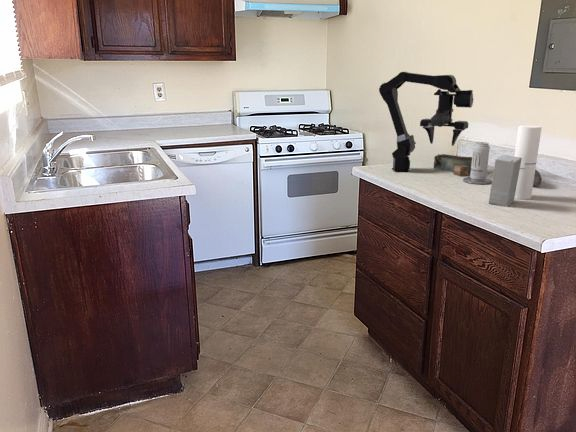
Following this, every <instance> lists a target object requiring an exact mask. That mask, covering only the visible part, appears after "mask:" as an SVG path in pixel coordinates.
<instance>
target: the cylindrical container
mask: <svg viewBox="0 0 576 432" xmlns="http://www.w3.org/2000/svg"><path fill="white" fill-rule="evenodd" d="M541 134H542V126H541V125H534V124H533V125H532V124H522V125H521V124H520V125H518V127H517V135H516V141H515V148H514V155H513V156H514V157H521V158H522V160H521V165H520V171H519V176H518V181H517V186H516V192H515V197H514V200H523V201H527V200H530V199H532V195H533V188H534V186H533V182H534V175H535V169H536V168H537V167H536V166H537V162H538V153H539V147H540V140H541Z"/></svg>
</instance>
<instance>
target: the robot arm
mask: <svg viewBox="0 0 576 432" xmlns="http://www.w3.org/2000/svg"><path fill="white" fill-rule="evenodd" d="M405 83H413V84H421V85H427V86H428V85H429V86H432V87H434V88H436V89H437V90H436V91H435V92H434V93H433V95H434V96H438V102H437V103H438V104H437V109H436V111H435V114H434V115H433V116H432V117H431V118H423V119H420V121H419V126H420V127H422V129H424V130H425V131H426V133H427V135H428V139H429V143H430V144H431V145H432V144H433V143H434V138H435V137H434V136H435V128H436V127H438V128H442V127H451V128H454V129H452V138H451V139H452V140H451V146H455V144H456V142H457V140H458V138H459V136H460V134H461V133H462V132H463V131H465V130H466V129H469V122H468V121H467V120H457V121H456V120H455V121H454V122H453V118H452V116H453V112H454V106H455V107H456V108H467V109H468V108H472V107H473V103H474V94H473V89H468V90H462V89H460V87H459V86H458V84H457V78H456V77H455V76H454V75H453V74H444V75H443V74H442V75H441V74H439V75H431V74H430V75H429V74H422V73H417V72H416V73H414V72H408V71H401V72H399V73H398V74H396V75H395V76H394V77H392V78H391V79H390V80H388V81H387V82H383V83H381V85H380V86H379V88H378V91H379V95H380V96H381V98H382V99H383V101H384V102H385V104H386V105H387V107H388V110H389V114H390V117H391V120H392V125H393V126H394V130H395V133H396V149H395V150H394V151H393V152H392V153H391V155H392V160H393V161H392V167H391V170H392V171H394V173H404V172H410V171H411V170H410V169H411V168H410V167H411V160H410V155H411V153H413V152H414V150H415V149H416V144H417V142H416V140H415V137H414V134H409V133H408V131H407V127H406V124H405V121H404V117H403V115H402V112H401V108H400V105H399V102H398V101H399V100H398V98H399V91H398V89H399V88H401V87H402V86H403V85H404V84H405ZM453 105H454V106H453Z"/></svg>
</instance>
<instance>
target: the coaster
mask: <svg viewBox="0 0 576 432" xmlns="http://www.w3.org/2000/svg"><path fill="white" fill-rule="evenodd" d="M462 182H464V183H467V184H470V185H478V186H479V185H480V186H481V185H482V186H484V185H485V186H486V185H492V179H491V178H487V177H486V179H485V180H484V181H473V180H471V178H470V176H469V177H468V176H465V177H463V179H462Z"/></svg>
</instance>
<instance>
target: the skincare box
mask: <svg viewBox="0 0 576 432" xmlns="http://www.w3.org/2000/svg"><path fill="white" fill-rule="evenodd" d="M514 156H515V155H509V154H508V155H507V154H502V155H500V156H499V157H497V158H495V161H494V167H493V174H492V178H491V180H492V183H491V184H490V185H491V188H490V192H489V198H488V204H491V205H496V206H500V205H502V206H501V207H506V206H507V207H508V206H510V205H511V204H512V203H513V202H514V201H515V199H514V197H515V192H516V186H517V181H518V176H519V171H520V165H521V160H522V158H521V157H514Z"/></svg>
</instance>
